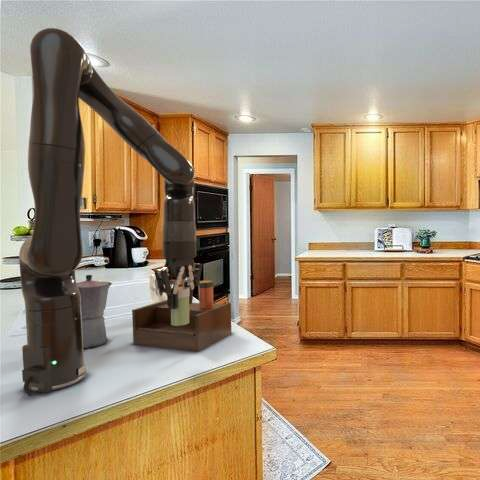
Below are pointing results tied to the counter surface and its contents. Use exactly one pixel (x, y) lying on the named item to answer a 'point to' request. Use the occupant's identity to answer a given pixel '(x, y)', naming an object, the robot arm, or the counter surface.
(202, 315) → the spice rack
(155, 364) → the counter surface
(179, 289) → the cylinder
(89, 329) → the moka pot
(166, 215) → the robot arm
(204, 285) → the pepper shaker
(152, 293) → the beer glass
